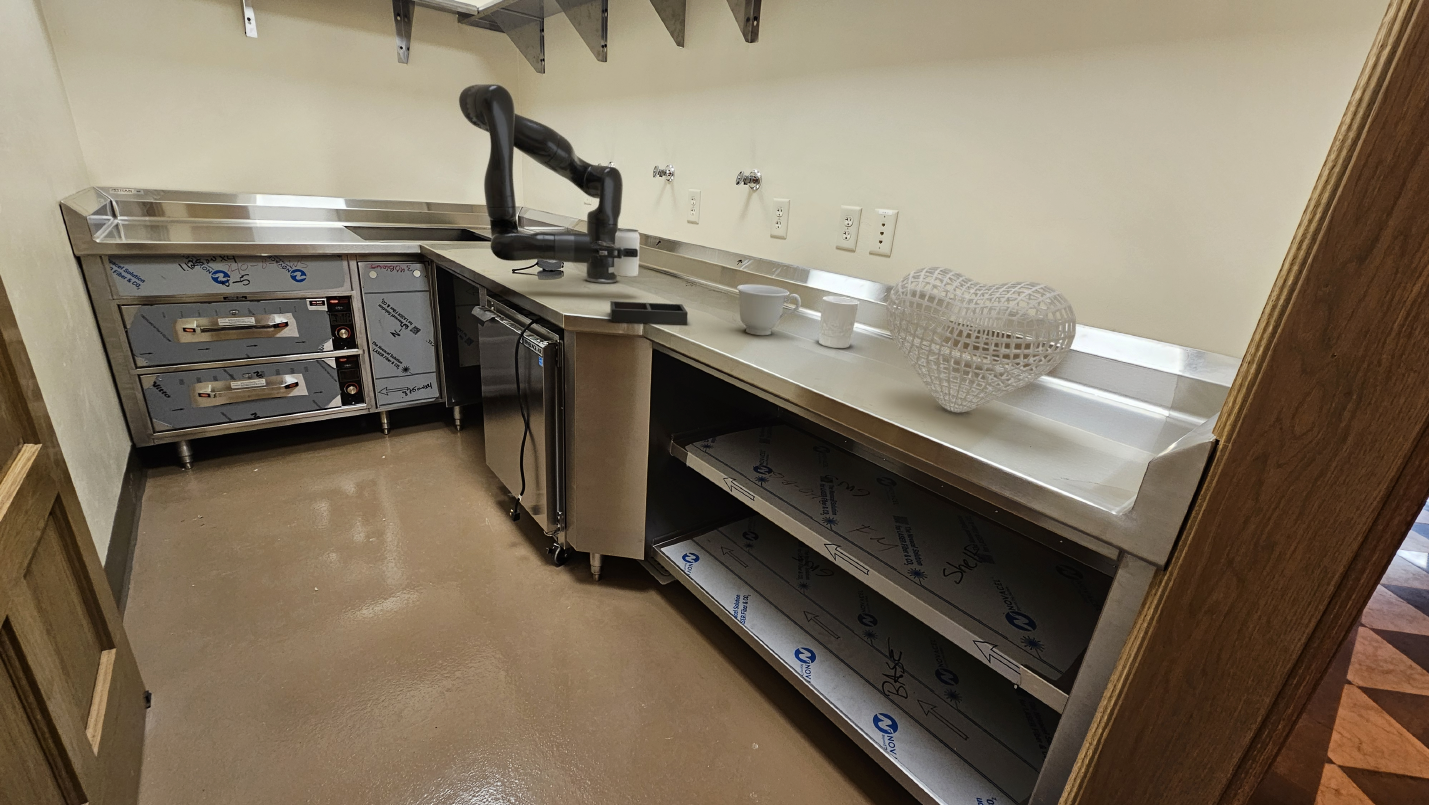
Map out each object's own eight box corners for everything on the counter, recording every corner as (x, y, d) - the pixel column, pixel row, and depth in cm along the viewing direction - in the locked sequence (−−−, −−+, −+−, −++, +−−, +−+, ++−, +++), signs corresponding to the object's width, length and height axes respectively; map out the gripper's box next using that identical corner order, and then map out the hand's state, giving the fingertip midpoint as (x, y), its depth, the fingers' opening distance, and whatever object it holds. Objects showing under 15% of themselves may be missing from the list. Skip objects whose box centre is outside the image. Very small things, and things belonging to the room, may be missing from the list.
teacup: (790, 344, 133) (796, 298, 129) (725, 333, 137) (729, 289, 133) (801, 333, 144) (806, 290, 140) (740, 323, 148) (745, 282, 144)
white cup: (858, 346, 136) (865, 301, 133) (839, 351, 130) (846, 304, 127) (828, 338, 141) (835, 295, 137) (809, 342, 135) (815, 298, 132)
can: (611, 272, 166) (612, 227, 162) (633, 273, 169) (635, 228, 165) (617, 277, 161) (619, 230, 157) (641, 277, 164) (643, 231, 160)
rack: (610, 313, 146) (610, 300, 145) (681, 316, 150) (682, 304, 149) (611, 322, 138) (611, 309, 137) (686, 324, 142) (687, 312, 141)
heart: (1058, 427, 96) (1100, 287, 88) (1026, 452, 85) (1071, 295, 78) (897, 380, 114) (920, 259, 106) (853, 395, 103) (876, 262, 95)
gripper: (574, 236, 151) (640, 240, 156) (570, 230, 164) (632, 233, 169) (573, 266, 154) (639, 269, 158) (570, 258, 167) (631, 261, 171)
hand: (635, 251), depth 164 cm, fingers closed on can, 6 cm apart
